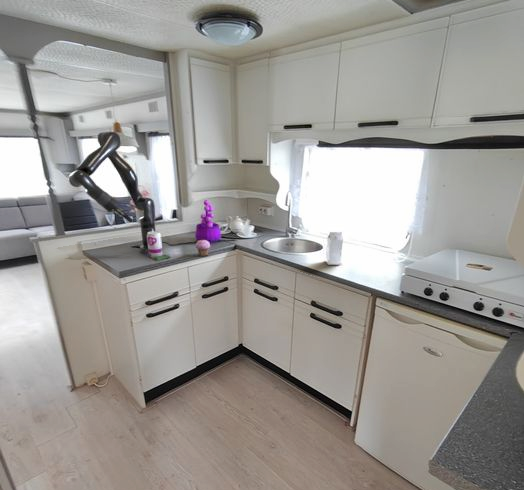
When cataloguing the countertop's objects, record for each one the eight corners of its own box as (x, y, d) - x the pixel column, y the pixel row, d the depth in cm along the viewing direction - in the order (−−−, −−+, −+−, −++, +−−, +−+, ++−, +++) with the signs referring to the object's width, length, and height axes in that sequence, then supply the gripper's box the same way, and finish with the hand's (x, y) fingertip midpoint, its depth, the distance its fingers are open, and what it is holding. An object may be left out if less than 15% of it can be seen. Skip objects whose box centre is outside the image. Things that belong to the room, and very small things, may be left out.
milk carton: (325, 261, 199) (328, 230, 192) (336, 261, 199) (339, 230, 192) (328, 265, 192) (331, 233, 185) (340, 264, 193) (343, 233, 186)
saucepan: (162, 250, 216) (161, 244, 214) (153, 254, 206) (152, 249, 204) (136, 248, 220) (135, 242, 219) (126, 252, 210) (125, 246, 209)
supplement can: (158, 258, 199) (156, 234, 193) (146, 257, 201) (143, 233, 195) (165, 254, 206) (163, 231, 200) (153, 253, 208) (151, 230, 202)
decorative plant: (202, 237, 249) (200, 197, 237) (225, 239, 244) (223, 198, 233) (191, 243, 232) (187, 201, 220) (215, 246, 227) (213, 202, 216)
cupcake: (200, 258, 201) (199, 242, 197) (194, 254, 207) (193, 239, 204) (212, 255, 206) (212, 240, 202) (206, 252, 212) (205, 237, 208)
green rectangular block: (166, 256, 203) (165, 254, 202) (169, 257, 201) (168, 255, 200) (154, 259, 198) (154, 257, 197) (157, 260, 195) (157, 258, 195)
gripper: (113, 197, 173) (139, 218, 184) (107, 194, 183) (132, 214, 194) (104, 207, 172) (131, 228, 183) (98, 204, 182) (124, 224, 193)
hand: (131, 221), depth 189 cm, fingers closed
